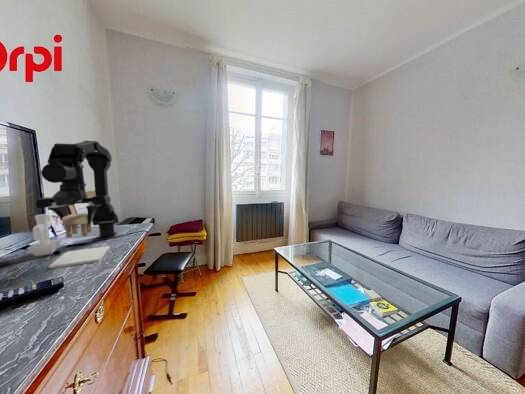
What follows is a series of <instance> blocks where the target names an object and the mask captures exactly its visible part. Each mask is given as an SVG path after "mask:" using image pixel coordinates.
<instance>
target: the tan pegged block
mask: <svg viewBox="0 0 525 394" xmlns="http://www.w3.org/2000/svg"><path fill="white" fill-rule="evenodd" d="M61 222H62V226H64V227H65V228H64V231H65V234H66V235H65V236H66V238H67V239H68V238H69V239H71V238H72V237H73V235H77V234H78V225H80V231H81V236H82V237H86V236H88V234H91V233H92V232H93V229H92V228H93V227H92V223H91V224H88V212H86V213H74V214H73V213H72V214H68V216H66V217H63V218H62V220H61Z"/></svg>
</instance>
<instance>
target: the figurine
mask: <svg viewBox="0 0 525 394" xmlns="http://www.w3.org/2000/svg"><path fill="white" fill-rule="evenodd" d="M34 219H35V222H36V225H35V226H33V228H32V236H33V240H34V241H35V242H34V243H33V244H32V245H30V246H28V247H27V248H26V250H27V251H29V252H30V253H31V254H32V255H34V256H35V257H37V256H39V257H40V256H46V255H51V254H54V252H56V251H57V250H58V248H59V245H60V244H61V242H62V239H53V240H51V239H50V232H49V228H51V227H52V216H51V214H49V213H41V214H36V215H34Z"/></svg>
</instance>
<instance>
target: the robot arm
mask: <svg viewBox="0 0 525 394" xmlns="http://www.w3.org/2000/svg"><path fill="white" fill-rule="evenodd" d="M85 160H86V161H87V163H88V165H87V166H89V167H90V169H91V170H92V171H93V178H94V179H93V182H94V191H95V192H94V196H92V197H88V194H86V187H87V184H86V183H85V177H84V170H83V168H85V166H84V164H82V163H84V161H85ZM111 162H112V155H111V153H110V151H109V149H107V148H106V147H104V146H102V145H101V143H100V142H98V141H96V140H83V141H82V142H77V143H54V144H53V146H52V148H51V149H50V154H49V156H48V159H47V164H46V165H45V166H43V168H42V170H41V177H42V178H43V179H44V180H45V181H46V182H49V183H52V184H53V183H55V184H56V183H61V184H59V190H58V191H56V193H54V194H53V196H51V197H50V196H49V197H41V198H37V199H36V200H35V201H34V208H35V209H44V208H47V211H52V212H54V213H55V214H56V215H57V216H58V217H59V219H60V220H61V221H62V218H63V217H66V216H68V215H69V214H68V213H69V212H68V206H75V204H77V205H78V204H88V205H87V206H85V207H86V209H87V213H88V224H91V225H93V226H98V233H99V235H98V236H97V237H96V239H100V240H101V239H107V238H114V237H115V236H116V235H117V234H118V232H116V231H115V224H118V223H119V217H118V215H117V213H116V211H115V208H114V206H113V205H112V204H111V196H109V185H108V184H109V183H108V172H107V171H109V169H110V167H111V166H112V165H111Z"/></svg>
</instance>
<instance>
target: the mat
mask: <svg viewBox="0 0 525 394" xmlns="http://www.w3.org/2000/svg"><path fill="white" fill-rule="evenodd" d="M109 249H110V246H108V245H107V246H100V247H99V246H98V247H92V248H86V249H76V250H70V251H69V250H68V251H66V252H64V253H63V254H62V255H61V256H60V257H59V258H57V259H56V260H54V262H52V263H51V264H50V265H49V266H48V269H49V270H50V269H56V268H64V267H70V266H76V265H77V266H78V265H81V264H82V265H83V264H89V263H90V264H91V263H96V262H100V261H101V260H102V258H103V257H104V256H105V254H107V252H108V251H109Z"/></svg>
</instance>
